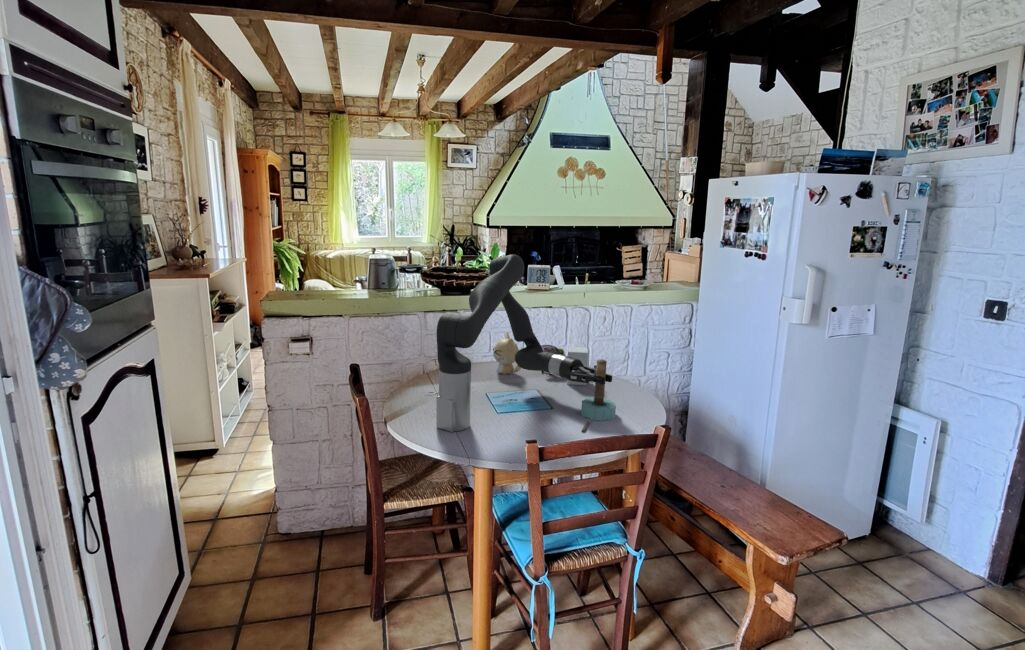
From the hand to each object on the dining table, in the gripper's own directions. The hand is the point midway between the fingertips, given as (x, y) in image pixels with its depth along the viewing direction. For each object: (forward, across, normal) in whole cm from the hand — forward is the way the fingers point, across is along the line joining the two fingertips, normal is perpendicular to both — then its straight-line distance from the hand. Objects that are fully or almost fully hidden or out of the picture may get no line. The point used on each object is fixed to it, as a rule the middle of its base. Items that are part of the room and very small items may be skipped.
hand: (608, 380), depth 173 cm
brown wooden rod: (-3, 0, +8) cm, 9 cm away
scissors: (-49, -22, +13) cm, 55 cm away
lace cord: (+1, -12, +12) cm, 17 cm away
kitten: (-53, +7, +12) cm, 55 cm away
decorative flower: (-41, +22, +13) cm, 49 cm away
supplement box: (-28, +20, +12) cm, 36 cm away
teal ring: (-3, 0, +12) cm, 12 cm away
